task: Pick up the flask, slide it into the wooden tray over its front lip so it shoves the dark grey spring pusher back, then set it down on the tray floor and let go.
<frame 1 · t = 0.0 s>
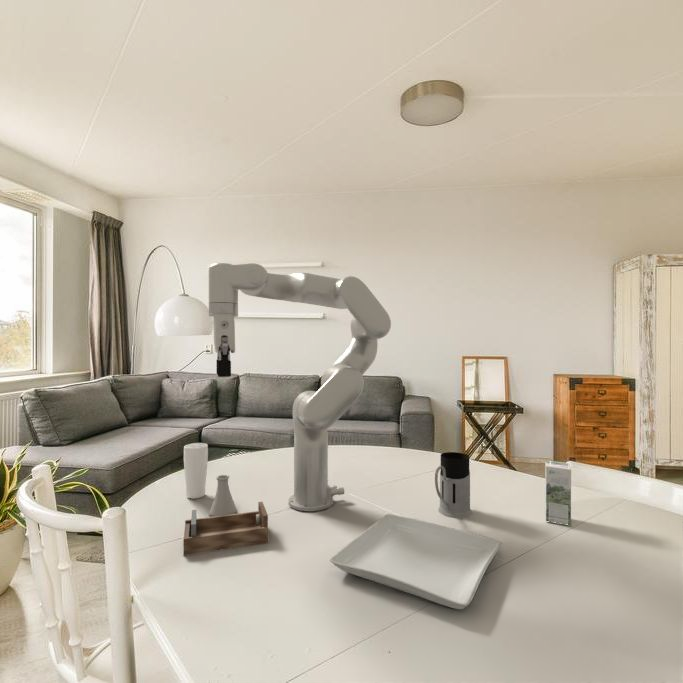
hand: (223, 375, 112), 37 cm above the table, tool pointing down, fingers open, 9 cm apart
syrup box: (557, 521, 108), on the table
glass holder: (449, 515, 112), on the table
pusher: (193, 527, 96), point 4 cm above the table, slide at 0.0 cm
drinking glass: (195, 496, 125), on the table
wooden tray: (225, 538, 98), on the table
flask: (222, 515, 112), on the table
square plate: (419, 567, 87), on the table
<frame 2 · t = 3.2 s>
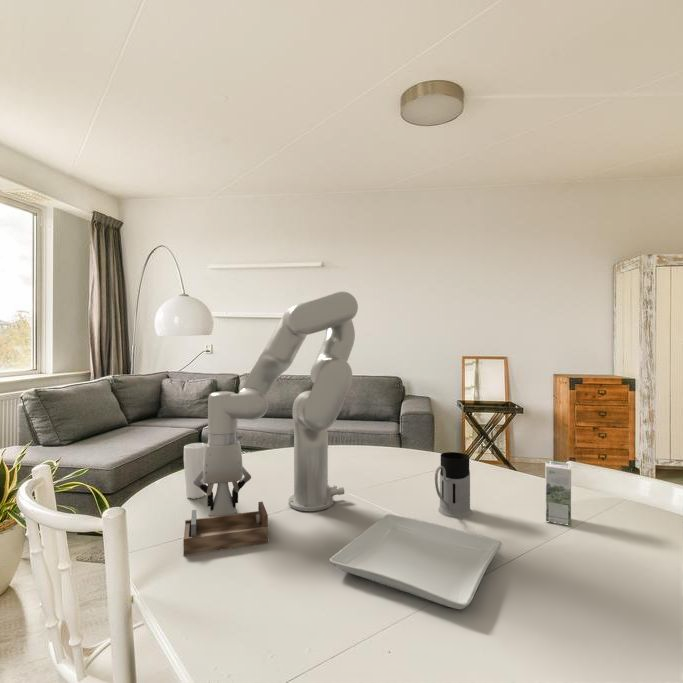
hand: (222, 506, 112), 2 cm above the table, tool pointing down, fingers closed on flask, 5 cm apart
flask: (222, 514, 112), on the table, touching gripper
everything else where it was.
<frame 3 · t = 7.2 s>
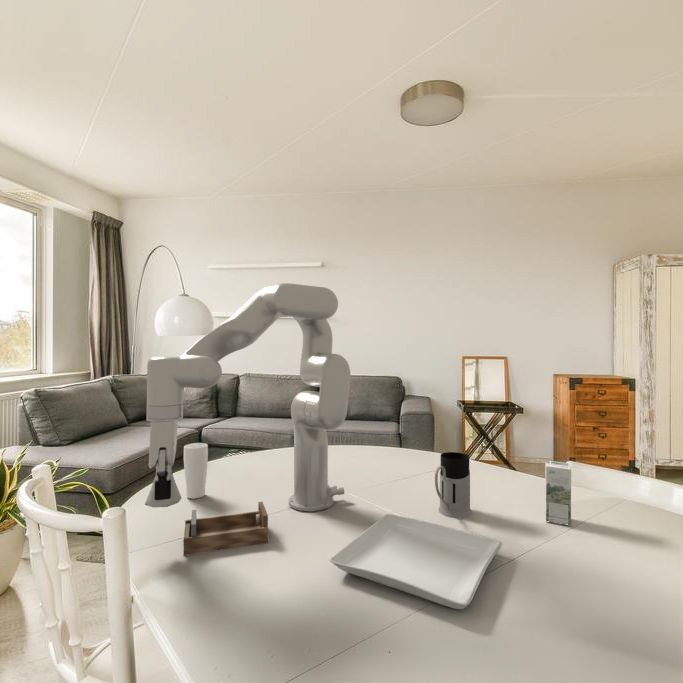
hand: (163, 493, 94), 12 cm above the table, tool pointing down, fingers closed on flask, 5 cm apart
flask: (163, 503, 94), point 10 cm above the table, touching gripper
everything else where it was.
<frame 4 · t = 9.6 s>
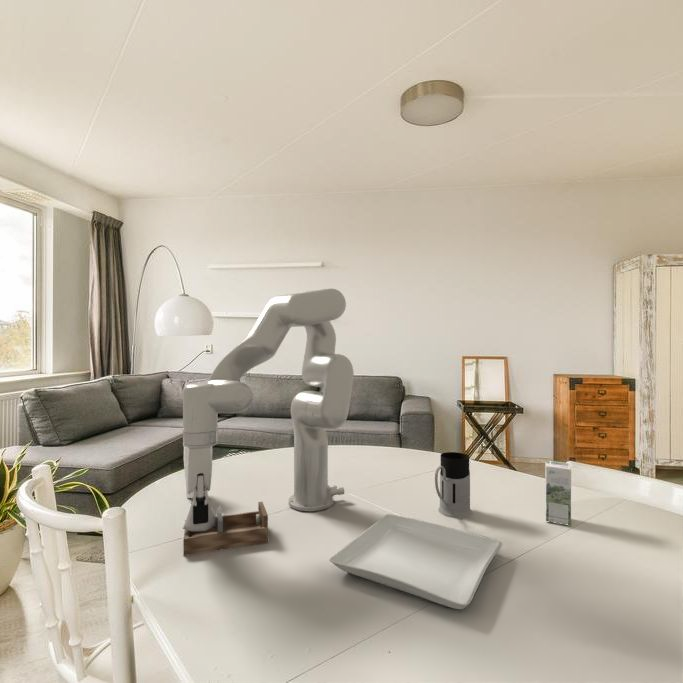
hand: (200, 517, 96), 6 cm above the table, tool pointing down, fingers closed on flask, 5 cm apart
pusher: (219, 523, 97), point 4 cm above the table, slide at 5.6 cm, touching flask
flask: (200, 526, 96), point 4 cm above the table, touching gripper, pusher
everything else where it was.
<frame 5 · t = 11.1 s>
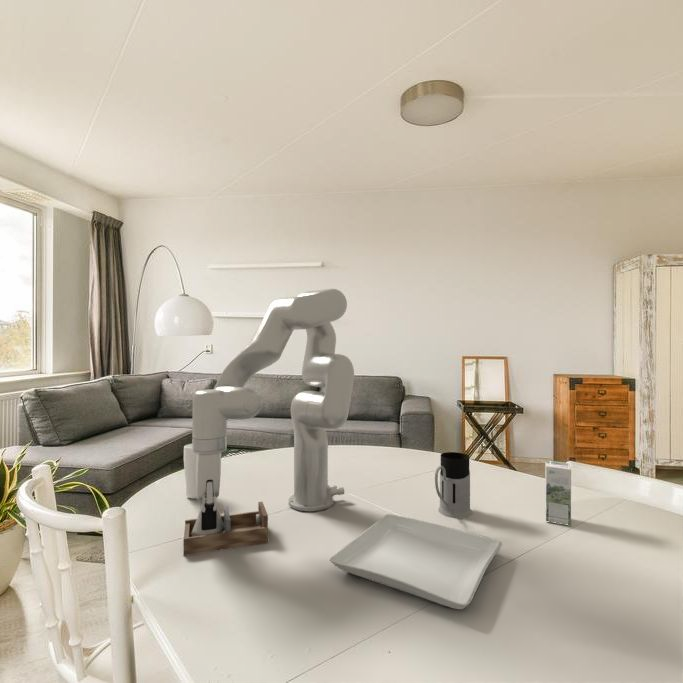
hand: (208, 523, 97), 4 cm above the table, tool pointing down, fingers closed on flask, 5 cm apart
pusher: (227, 522, 98), point 4 cm above the table, slide at 7.3 cm, touching flask
flask: (208, 533, 97), point 2 cm above the table, touching gripper, pusher
everything else where it was.
when the fingers open (4 cm above the table, at t = 11.4 s): flask drops 1 cm, resting on wooden tray, pusher.
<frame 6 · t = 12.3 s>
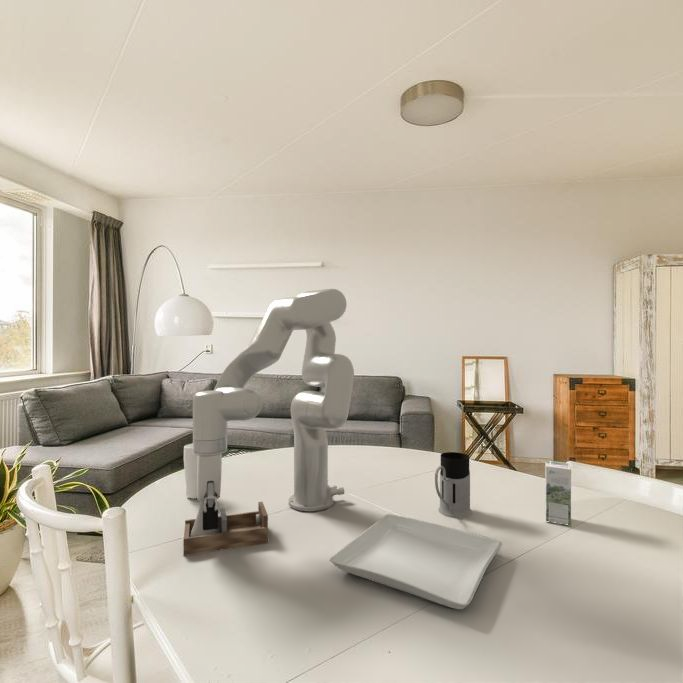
hand: (210, 520, 97), 5 cm above the table, tool pointing down, fingers open, 9 cm apart
pusher: (223, 523, 98), point 4 cm above the table, slide at 6.5 cm, touching flask
flask: (205, 538, 96), point 1 cm above the table, touching wooden tray, pusher
everything else where it was.
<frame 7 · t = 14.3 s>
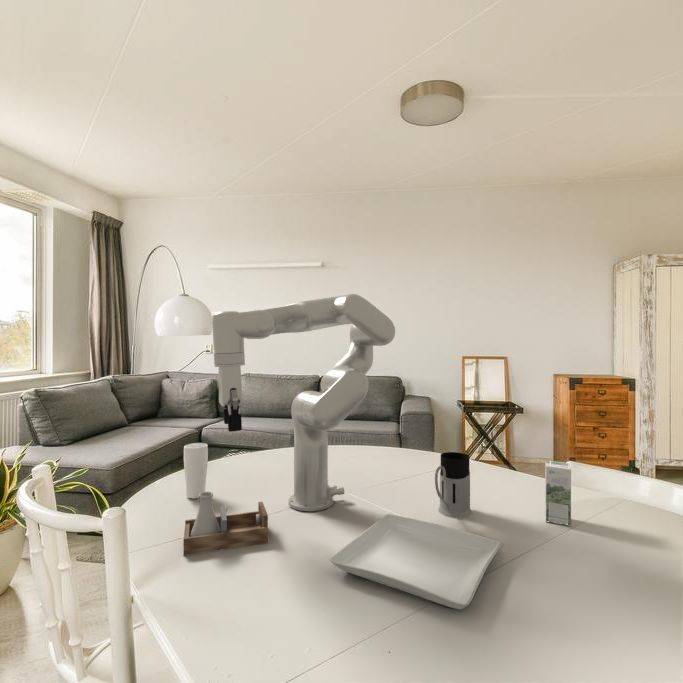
hand: (232, 426, 108), 24 cm above the table, tool pointing down, fingers open, 9 cm apart
nothing on the table moved.
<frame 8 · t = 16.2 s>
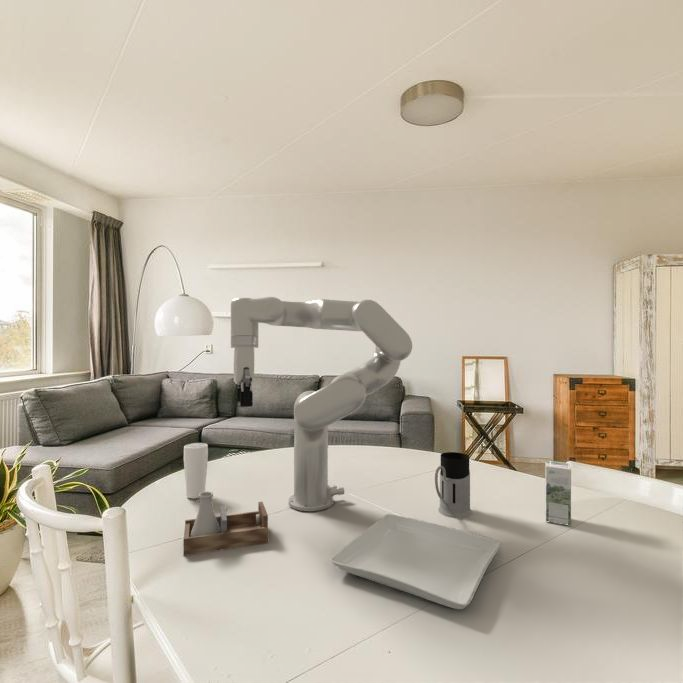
hand: (244, 404, 118), 28 cm above the table, tool pointing down, fingers open, 9 cm apart
nothing on the table moved.
at the end: flask 1.5 cm from the target spot on the wooden tray, point 0.8 cm above the wooden tray's base; flask tilted 1°; pusher slide at 6.5 cm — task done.
